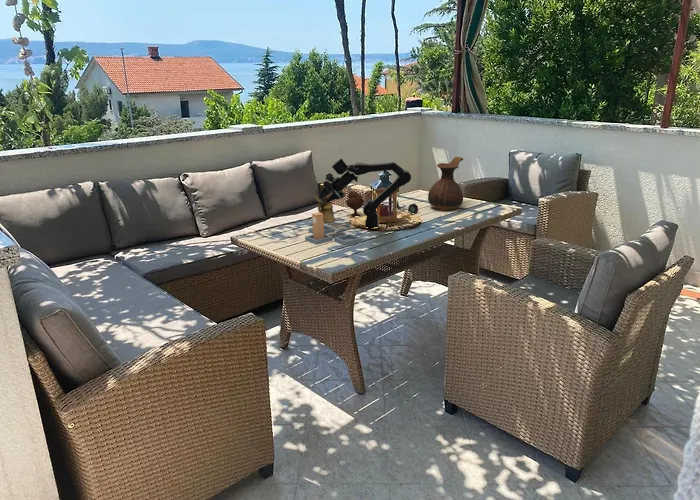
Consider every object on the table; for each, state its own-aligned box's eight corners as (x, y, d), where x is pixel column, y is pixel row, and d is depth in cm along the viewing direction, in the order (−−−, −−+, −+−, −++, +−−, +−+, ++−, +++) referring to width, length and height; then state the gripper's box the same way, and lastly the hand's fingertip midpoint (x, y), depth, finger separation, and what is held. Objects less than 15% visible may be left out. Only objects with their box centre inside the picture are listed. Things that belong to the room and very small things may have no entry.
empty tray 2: (350, 238, 285) (349, 233, 285) (362, 242, 278) (362, 237, 277) (334, 242, 280) (334, 237, 279) (346, 246, 272) (345, 242, 271)
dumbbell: (408, 218, 326) (403, 202, 323) (387, 215, 345) (382, 200, 342) (420, 212, 329) (415, 196, 326) (398, 209, 349) (393, 194, 346)
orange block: (320, 238, 285) (318, 212, 281) (324, 240, 282) (323, 213, 277) (313, 240, 282) (311, 213, 278) (317, 242, 279) (316, 215, 275)
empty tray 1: (324, 229, 303) (323, 224, 303) (334, 233, 296) (334, 228, 295) (308, 232, 298) (308, 228, 297) (319, 236, 290) (318, 232, 289)
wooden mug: (310, 223, 317) (308, 192, 311) (327, 218, 326) (326, 188, 320) (320, 225, 311) (319, 194, 305) (338, 221, 319) (337, 190, 314)
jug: (466, 212, 330) (468, 161, 320) (430, 213, 330) (431, 162, 321) (460, 203, 350) (461, 155, 341) (426, 204, 351) (426, 156, 341)
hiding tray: (321, 237, 289) (321, 232, 288) (332, 241, 281) (332, 236, 281) (305, 241, 283) (305, 236, 283) (316, 245, 276) (316, 240, 275)
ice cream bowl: (352, 219, 321) (351, 194, 317) (343, 215, 331) (342, 190, 326) (368, 216, 326) (367, 191, 321) (359, 213, 336) (358, 188, 331)
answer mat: (340, 233, 295) (340, 232, 295) (350, 236, 288) (350, 235, 288) (326, 236, 290) (326, 235, 290) (336, 240, 283) (336, 239, 283)
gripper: (342, 174, 306) (321, 192, 309) (328, 165, 288) (307, 185, 292) (354, 189, 302) (332, 207, 306) (340, 181, 285) (318, 200, 288)
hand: (322, 200), depth 298 cm, fingers open, 9 cm apart
